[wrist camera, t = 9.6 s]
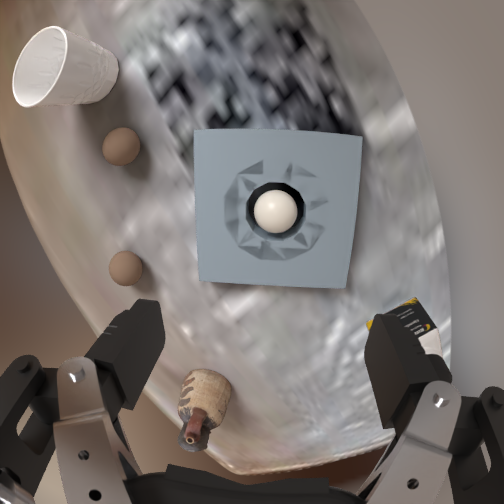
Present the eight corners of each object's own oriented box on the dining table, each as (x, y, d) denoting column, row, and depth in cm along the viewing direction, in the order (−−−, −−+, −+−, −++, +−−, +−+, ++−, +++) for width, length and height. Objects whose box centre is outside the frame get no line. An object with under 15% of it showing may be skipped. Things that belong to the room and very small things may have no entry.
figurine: (181, 389, 40) (159, 450, 29) (189, 361, 37) (163, 429, 26) (225, 403, 40) (211, 466, 29) (237, 377, 38) (224, 447, 27)
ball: (256, 186, 28) (252, 193, 24) (297, 187, 27) (299, 195, 24) (255, 225, 29) (251, 237, 25) (295, 227, 29) (296, 240, 25)
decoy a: (114, 129, 26) (94, 130, 23) (146, 125, 26) (127, 124, 22) (115, 164, 28) (95, 169, 24) (147, 162, 28) (129, 166, 24)
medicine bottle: (415, 295, 30) (458, 359, 19) (425, 333, 32) (459, 396, 21) (364, 321, 32) (390, 394, 21) (379, 356, 34) (402, 425, 23)
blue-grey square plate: (201, 130, 26) (193, 129, 24) (355, 136, 25) (362, 136, 22) (205, 270, 32) (199, 280, 29) (340, 277, 30) (345, 288, 28)
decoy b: (117, 245, 32) (99, 258, 28) (145, 246, 31) (129, 260, 28) (122, 275, 33) (106, 290, 29) (149, 277, 33) (135, 294, 29)
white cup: (136, 70, 24) (80, 51, 15) (90, 122, 26) (29, 124, 17) (103, 35, 22) (49, 13, 13) (62, 83, 24) (4, 79, 15)
